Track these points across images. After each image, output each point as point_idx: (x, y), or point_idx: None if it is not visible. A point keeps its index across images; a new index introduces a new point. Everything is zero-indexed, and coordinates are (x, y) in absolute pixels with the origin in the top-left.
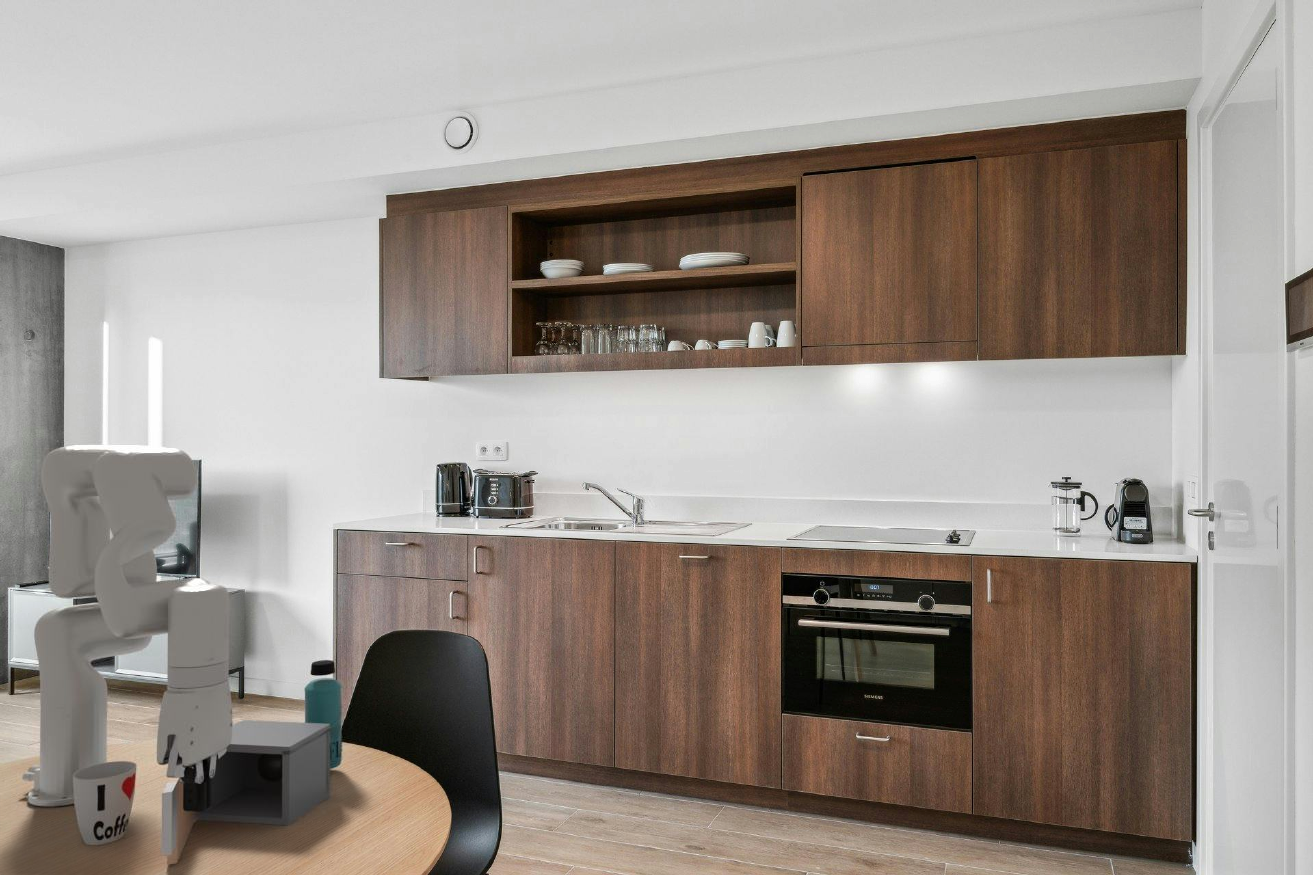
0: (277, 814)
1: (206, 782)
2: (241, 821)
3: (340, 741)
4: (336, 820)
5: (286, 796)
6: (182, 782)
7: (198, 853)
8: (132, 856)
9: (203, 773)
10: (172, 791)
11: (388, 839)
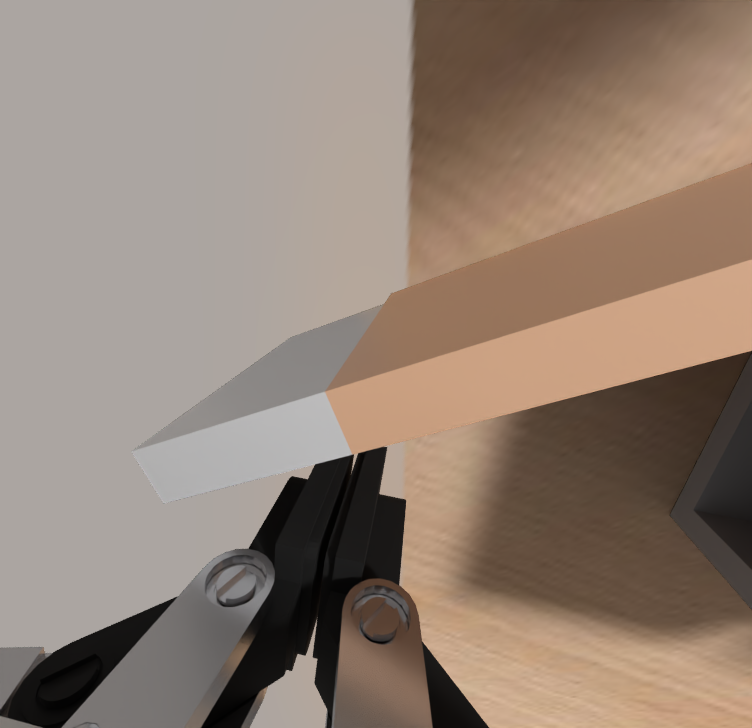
0: (740, 486)
1: (289, 663)
2: (748, 366)
3: None
4: (679, 614)
5: (745, 585)
6: (223, 563)
7: None
8: (483, 111)
9: (321, 689)
10: (181, 496)
11: (525, 715)
